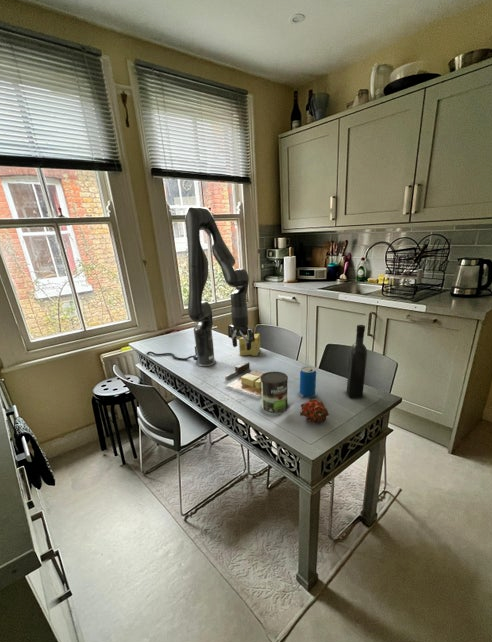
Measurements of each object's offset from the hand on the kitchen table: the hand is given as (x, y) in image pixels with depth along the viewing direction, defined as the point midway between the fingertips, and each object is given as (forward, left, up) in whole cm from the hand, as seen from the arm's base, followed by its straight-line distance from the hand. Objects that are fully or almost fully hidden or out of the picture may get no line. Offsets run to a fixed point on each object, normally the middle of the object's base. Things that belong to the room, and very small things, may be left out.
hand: (241, 348), depth 150 cm
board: (+12, -6, -14) cm, 19 cm away
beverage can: (+36, -1, -14) cm, 39 cm away
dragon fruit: (+48, -16, -14) cm, 52 cm away
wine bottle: (+52, +10, -14) cm, 55 cm away
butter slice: (+17, -8, -12) cm, 22 cm away
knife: (-1, -4, -14) cm, 14 cm away
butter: (+11, -8, -12) cm, 18 cm away
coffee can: (+31, -18, -14) cm, 39 cm away
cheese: (-16, +24, -14) cm, 32 cm away
